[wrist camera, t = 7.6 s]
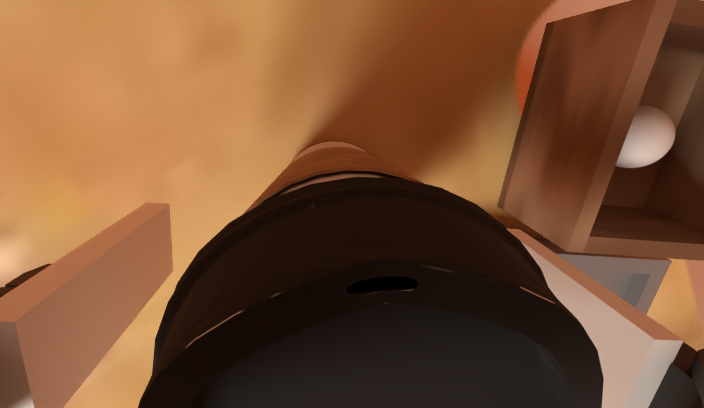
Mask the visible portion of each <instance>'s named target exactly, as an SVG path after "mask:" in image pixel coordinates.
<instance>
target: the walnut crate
mask: <svg viewBox="0 0 704 408" xmlns="http://www.w3.org/2000/svg"><path fill="white" fill-rule="evenodd" d="M638 105H646V106H651V107H655V108H657V109H660V110H662V111H663V112H665V113H666V114H667V115H668V116H669V117H670V118H671V120H672V121H673V123H674V126H675V140H674V143H673V145H672V147H671V148H670V150H669V151H668V152H667V153H666V154H665V155H664V156H663V157H662V158H660V159H659V160H657V161H656V162H654V163H652V164H649V165H647V166H643V167H638V168H622V167H617V166H616V163H617V160H618V158H619V155H620V152H621V150H622V147H623V144H624V142H625V139H626V136H627V134H628V131H629V128H630V126H631V123H632V120H633V118H634V115H635V112H636V110H637V107H638ZM498 207H500V208H501V209H503V210H504V211H506V212H507V213H509V214H510V215H512V216H513V217H515V218H516V219H518V220H519V221H521V222H522V223H524V224H525V225H527V226H528V227H530V228H531V229H533V230H534V231H536V232H537V233H539V234H540V235H542V236H543V237H545V238H546V239H548V240H549V241H551V242H552V243H554V244H555V245H557V246H558V247H560V248H562V249H563V250H565V251H566V252H577V253H593V254H609V255H625V256H641V257H657V258H673V259H688V260H704V1H700V0H631V1H628V2H624V3H620V4H617V5H613V6H609V7H606V8H602V9H598V10H595V11H591V12H587V13H583V14H580V15H576V16H572V17H569V18H565V19H561V20H558V21H554V22H551V23H547V24H546V28H545V32H544V35H543V39H542V43H541V47H540V50H539V54H538V58H537V61H536V65H535V69H534V72H533V76H532V80H531V84H530V87H529V91H528V95H527V98H526V102H525V106H524V109H523V113H522V117H521V120H520V124H519V128H518V132H517V135H516V139H515V143H514V146H513V150H512V154H511V157H510V161H509V165H508V169H507V172H506V176H505V180H504V183H503V187H502V191H501V194H500V198H499V202H498Z"/></svg>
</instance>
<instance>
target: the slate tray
mask: <svg viewBox="0 0 704 408" xmlns="http://www.w3.org/2000/svg"><path fill="white" fill-rule="evenodd" d="M535 240H536V241H538V242H539V243H541V244H542V245H544V246H545V247H547V248H548V249H550V250H551V251H552V252H554V253H555V254H557V255H558V256H560V257H561V258H563V259H564V260H566V261H567V262H569V263H570V264H572V265H573V266H575V267H576V268H578V269H579V270H581V271H582V272H583V273H585V274H586V275H588V276H589V277H591V278H592V279H594V280H595V281H597V282H598V283H600V284H601V285H603V286H604V287H606V288H607V289H609V290H610V291H611V292H613V293H614V294H616V295H617V296H619V297H620V298H622V299H623V300H625V301H626V302H628V303H629V304H631V305H632V306H634V307H635V308H637V309H638V310H640V311H641V312H642V313H644V314H645V315H646V314H647V312H648V310H649V308H650V306H651V303H652V301H653V299H654V297H655V295H656V293H657V291H658V289H659V287H660V284H661V282H662V280H663V278H664V276H665V274H666V272H667V270H668V268H669V265H670V263H671V260H669V259H667V258H657V257H641V256H625V255H609V254H593V253H577V252H566V251H565V250H563V249H562V248H560V247H558V246H557V245H555V244H554V243H552V242H551V241H549V240H542V239H535Z"/></svg>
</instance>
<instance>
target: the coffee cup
mask: <svg viewBox="0 0 704 408" xmlns="http://www.w3.org/2000/svg"><path fill="white" fill-rule="evenodd" d="M603 382H604V378H603V373H602V368H601V364H600V359H599V355H598V350H597V348H596V347H595V345H594V344H593V342H592V340H591V339H590V337H589V336H588V334H587V332H586V331H585V329H584V327H583V326H582V324H581V323H580V322H579V320H578V319H577V318H576V317H575V316H574V315H573V314H572V313H571V312H570V311H569V310H568V309H567V308H566V307H565V306H564V305H563V304H562V303H561V302H560V301H559V300H558V299H557V298H556V296H555V295H554V294H553V292H552V291H551V290H550V289H549V287H548V285H547V282H546V280H545V277H544V275H543V272H542V270H541V268H540V266H539V265H538V264H537V262H536V261H535V260H534V258H533V257H532V256H531V254H530V253H529V252H528V250H527V249H526V248H525V246H524V245H523V244H522V242H521V241H520V240H519V239H518V238H517V237H516V236H514V235H513V234H512V233H511V232H509V231H508V230H507V229H506V227H505V226H504V225H502V224H501V223H500V222H498V221H497V220H496V219H495V218H493V217H492V216H491V215H489V214H488V213H487V212H486V211H484V210H483V209H482V208H480V207H479V206H478V205H477V204H474V203H472V202H470V201H468V200H466V199H464V198H462V197H459V196H457V195H455V194H453V193H451V192H449V191H447V190H444V189H442V188H440V187H435V186H431V185H427V184H424V183H422V182H420V181H418V180H417V179H415V178H413V177H411V176H409V175H408V174H406V173H404V172H402V171H400V170H398V169H397V168H395V167H393V166H391V165H389V164H387V163H386V162H384V161H382V160H380V159H378V158H377V157H375V156H372V155H370V154H369V153H367V152H366V151H365V150H363V149H361V148H359V147H357V146H355V145H353V144H349V143H345V142H337V141H329V142H323V143H319V144H316V145H313V146H311V147H309V148H307V149H306V150H304V151H302V152H301V153H300V154H299V155H298V156H296V157H295V158H294V159H293V160H292V162H291V163H290V164H289V166H288V167H287V168H286V169H285V170H284V171H283V172H282V173H281V174H280V175H279V176H278V177H277V178H276V179H275V181H274V182H273V183H272V184H271V185H270V186H269V187H268V188H267V189H266V190H265V191H264V192H263V193H262V195H261V196H260V197H259V198H258V199H257V200H256V201H255V202H254V203H253V204H252V205H251V206H250V207H249V209H248V210H247V211H246V212H245V213H244V214H243V215H241V216H240V217H238V218H237V219H235V220H233V221H232V222H230V223H229V224H228V225H227V226H225V227H224V228H223V229H222V230H221V231H220V232H219V233H218V234H217V235H216V236H215V237H214V238H213V239H211V240H210V241H209V242H208V243H207V244H206V245H205V246H204V247H203V248H202V249H201V250H200V251H199V252H198V253H197V255H196V256H195V258H194V259H193V261H192V262H191V264H190V265H189V267H188V268H187V270H186V271H185V273H184V274H183V276H182V277H181V279H180V280H179V282H178V283H177V286H176V288H175V291H174V294H173V295H172V297H171V298H170V300H169V301H168V304H167V307H166V310H165V313H164V315H163V318H162V321H161V324H160V327H159V330H158V333H157V335H156V338H155V348H154V360H153V372H152V376H151V379H150V381H149V383H148V385H147V387H146V389H145V392H144V394H143V396H142V398H141V400H140V403H139V406H138V408H602V396H603Z"/></svg>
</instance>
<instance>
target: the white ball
mask: <svg viewBox="0 0 704 408" xmlns="http://www.w3.org/2000/svg"><path fill="white" fill-rule="evenodd" d="M674 140H675V126H674V123H673V121H672V120H671V118H670V117H669V116H668V115H667V114H666V113H665V112H663V111H662V110H660V109H657V108H655V107H651V106H646V105H638V107H637V110H636V112H635V115H634V118H633V120H632V123H631V126H630V128H629V131H628V134H627V136H626V139H625V142H624V144H623V147H622V150H621V152H620V155H619V158H618V160H617V163H616V166H617V167H622V168H638V167H643V166H647V165H649V164H652V163H654V162H656V161H657V160H659V159H660V158H662V157H663V156H664V155H665V154H666V153H667V152H668V151H669V150H670V148H671V147H672V145H673V143H674Z"/></svg>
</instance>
